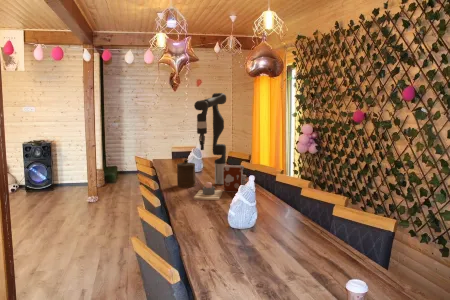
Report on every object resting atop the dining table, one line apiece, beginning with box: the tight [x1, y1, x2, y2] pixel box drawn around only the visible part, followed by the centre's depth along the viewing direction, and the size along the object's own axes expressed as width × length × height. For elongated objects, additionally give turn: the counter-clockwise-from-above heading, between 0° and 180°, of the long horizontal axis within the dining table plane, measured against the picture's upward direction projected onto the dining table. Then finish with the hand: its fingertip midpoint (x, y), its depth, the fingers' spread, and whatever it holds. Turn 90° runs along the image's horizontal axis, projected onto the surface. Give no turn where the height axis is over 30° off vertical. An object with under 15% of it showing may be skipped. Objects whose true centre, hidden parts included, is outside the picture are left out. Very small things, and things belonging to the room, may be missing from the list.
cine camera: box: [222, 164, 249, 193], centre depth 309 cm, size 9×19×20 cm, turn 78°
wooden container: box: [176, 158, 196, 188], centre depth 332 cm, size 15×15×22 cm
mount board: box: [193, 189, 224, 201], centre depth 297 cm, size 24×18×2 cm
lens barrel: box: [202, 185, 216, 195], centre depth 297 cm, size 8×8×5 cm
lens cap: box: [205, 181, 213, 188], centre depth 297 cm, size 4×4×8 cm
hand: (202, 149), depth 310 cm, fingers closed
